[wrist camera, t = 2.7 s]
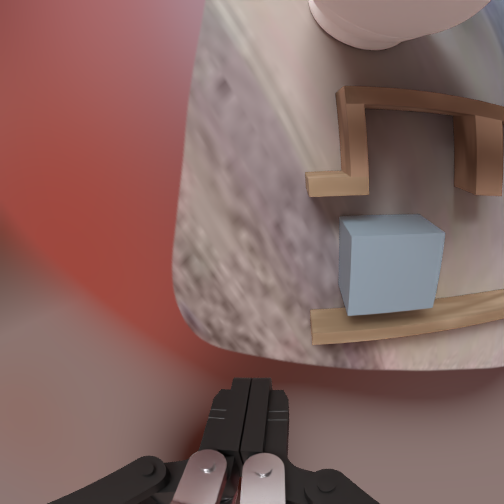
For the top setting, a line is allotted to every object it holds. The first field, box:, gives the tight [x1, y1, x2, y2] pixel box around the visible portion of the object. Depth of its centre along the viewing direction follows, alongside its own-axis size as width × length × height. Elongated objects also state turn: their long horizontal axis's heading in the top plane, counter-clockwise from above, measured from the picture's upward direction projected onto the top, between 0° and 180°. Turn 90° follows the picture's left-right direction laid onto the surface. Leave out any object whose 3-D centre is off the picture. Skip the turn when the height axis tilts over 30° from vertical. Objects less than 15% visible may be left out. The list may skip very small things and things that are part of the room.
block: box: [338, 214, 445, 316], centre depth 21 cm, size 6×7×5 cm
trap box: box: [305, 86, 504, 345], centre depth 19 cm, size 19×35×4 cm, turn 96°
